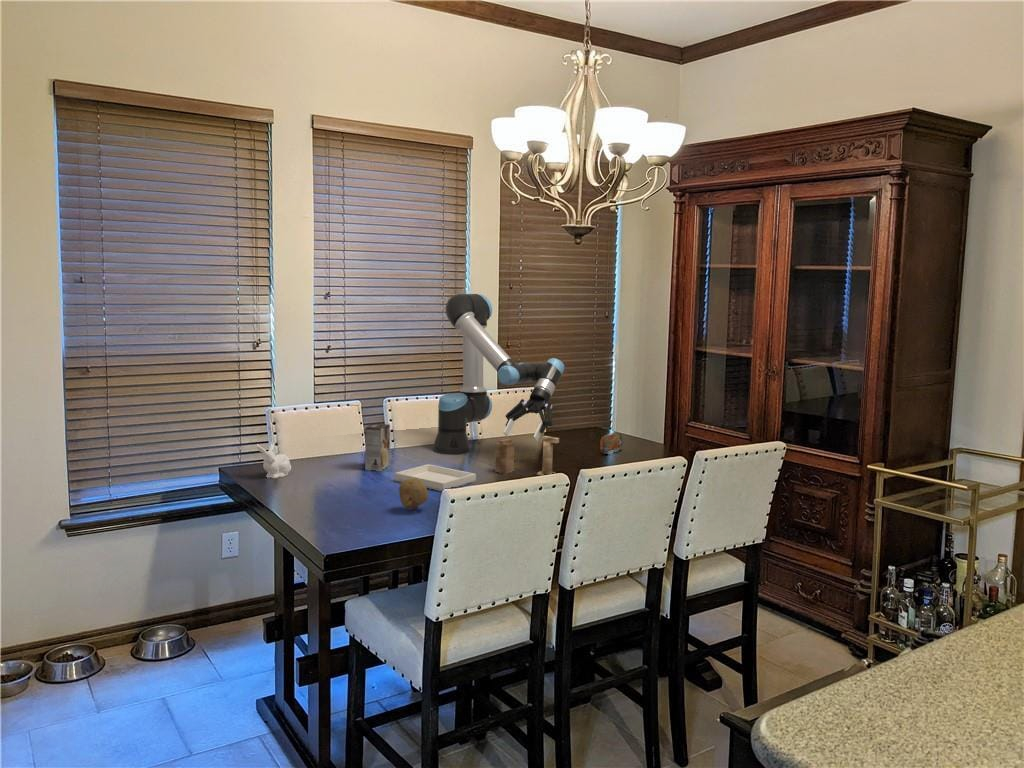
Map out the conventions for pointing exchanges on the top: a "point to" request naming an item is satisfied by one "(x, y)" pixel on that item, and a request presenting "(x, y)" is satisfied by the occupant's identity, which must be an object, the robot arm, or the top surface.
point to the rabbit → (275, 463)
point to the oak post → (547, 454)
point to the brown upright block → (504, 456)
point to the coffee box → (377, 447)
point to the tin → (610, 442)
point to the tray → (436, 476)
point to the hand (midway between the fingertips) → (520, 436)
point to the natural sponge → (413, 493)
